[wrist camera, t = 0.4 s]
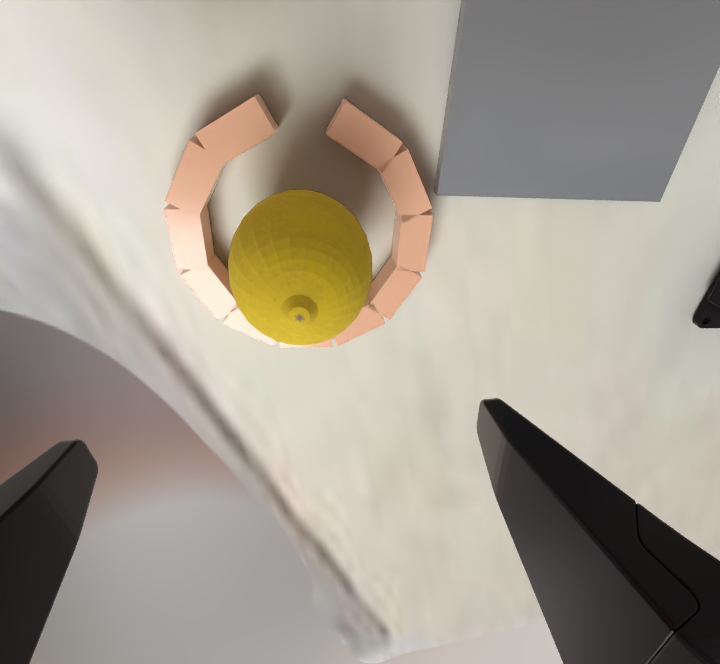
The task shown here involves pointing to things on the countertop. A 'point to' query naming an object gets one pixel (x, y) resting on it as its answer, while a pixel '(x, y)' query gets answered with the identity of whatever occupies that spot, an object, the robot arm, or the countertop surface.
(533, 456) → the robot arm
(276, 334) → the lemon
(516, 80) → the slate coaster
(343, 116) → the c ring
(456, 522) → the countertop surface
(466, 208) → the countertop surface
